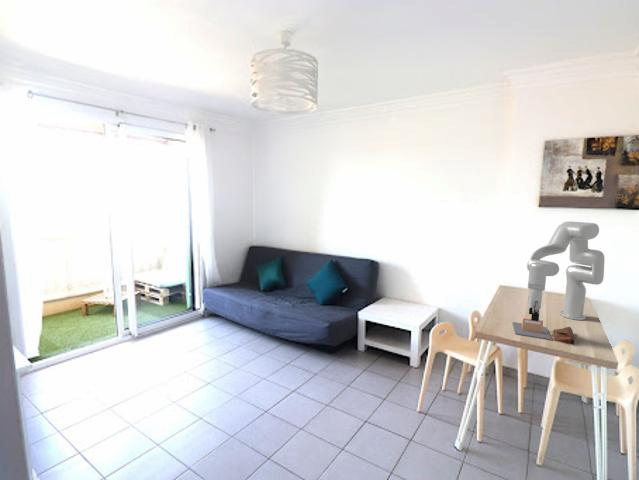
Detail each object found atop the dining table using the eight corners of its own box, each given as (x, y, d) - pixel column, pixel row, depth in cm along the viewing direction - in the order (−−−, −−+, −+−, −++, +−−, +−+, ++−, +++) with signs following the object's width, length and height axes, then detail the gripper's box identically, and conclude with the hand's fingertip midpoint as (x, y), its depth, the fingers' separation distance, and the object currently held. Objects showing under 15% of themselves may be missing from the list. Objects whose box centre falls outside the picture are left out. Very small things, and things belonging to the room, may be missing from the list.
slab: (521, 328, 180) (522, 317, 179) (541, 331, 176) (542, 319, 176) (521, 329, 179) (523, 318, 178) (541, 332, 175) (543, 321, 174)
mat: (512, 322, 190) (512, 321, 190) (545, 328, 183) (545, 327, 183) (515, 334, 174) (515, 333, 174) (552, 340, 167) (552, 339, 167)
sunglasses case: (552, 329, 182) (561, 320, 179) (565, 338, 179) (574, 329, 176) (552, 340, 167) (562, 331, 164) (566, 350, 164) (577, 341, 161)
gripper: (526, 281, 184) (523, 311, 186) (530, 289, 168) (527, 322, 171) (542, 282, 181) (539, 313, 183) (547, 291, 165) (544, 324, 168)
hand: (533, 317), depth 177 cm, fingers open, 9 cm apart
